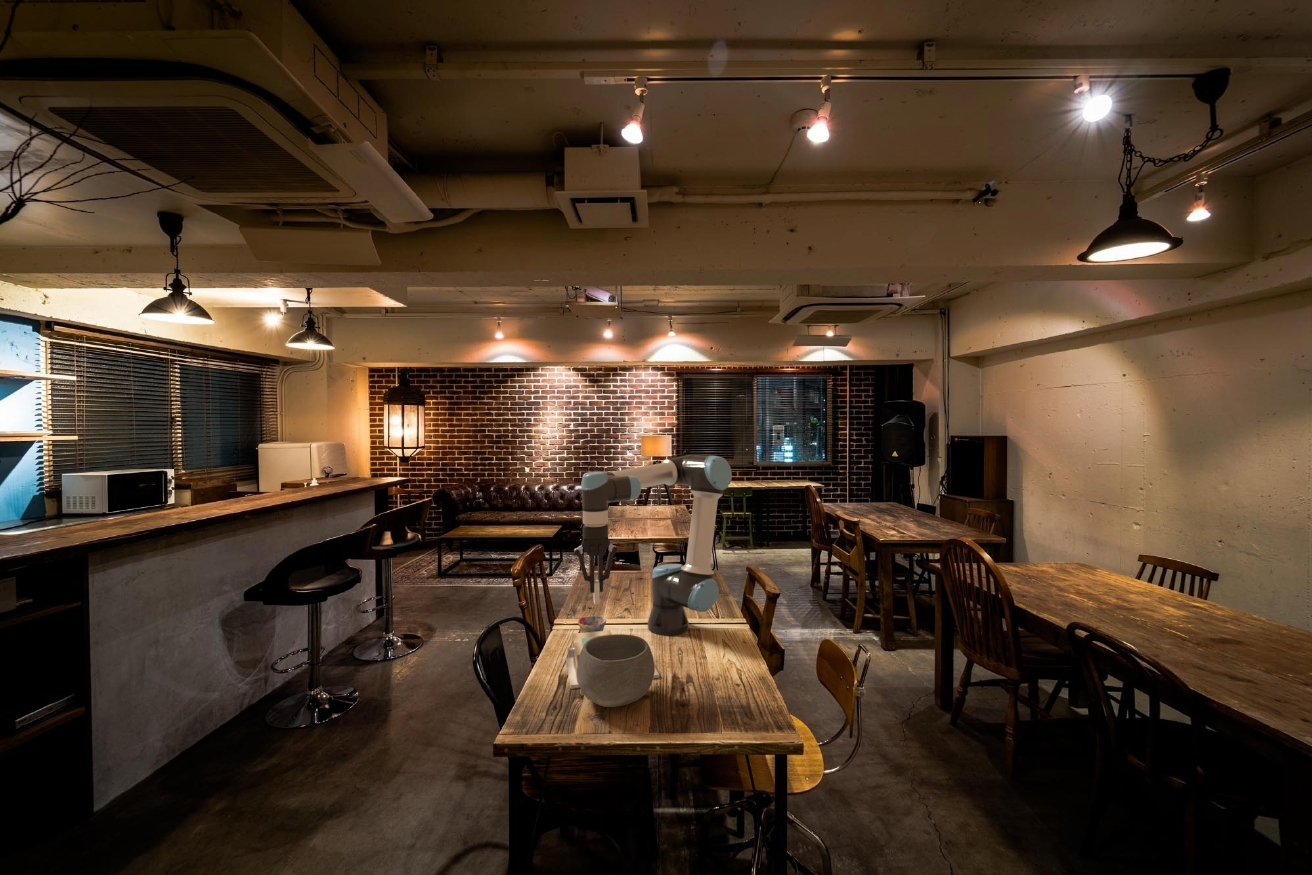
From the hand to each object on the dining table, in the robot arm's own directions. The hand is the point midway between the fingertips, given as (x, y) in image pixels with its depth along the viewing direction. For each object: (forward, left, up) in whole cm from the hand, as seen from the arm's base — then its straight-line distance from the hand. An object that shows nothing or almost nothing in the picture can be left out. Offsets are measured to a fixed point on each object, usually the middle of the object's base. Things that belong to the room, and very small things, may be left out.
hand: (596, 602), depth 155 cm
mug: (-1, -17, -22) cm, 28 cm away
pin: (0, -6, -19) cm, 20 cm away
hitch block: (-5, -3, -22) cm, 22 cm away
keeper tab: (0, +1, -12) cm, 12 cm away
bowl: (-3, +16, -22) cm, 27 cm away
